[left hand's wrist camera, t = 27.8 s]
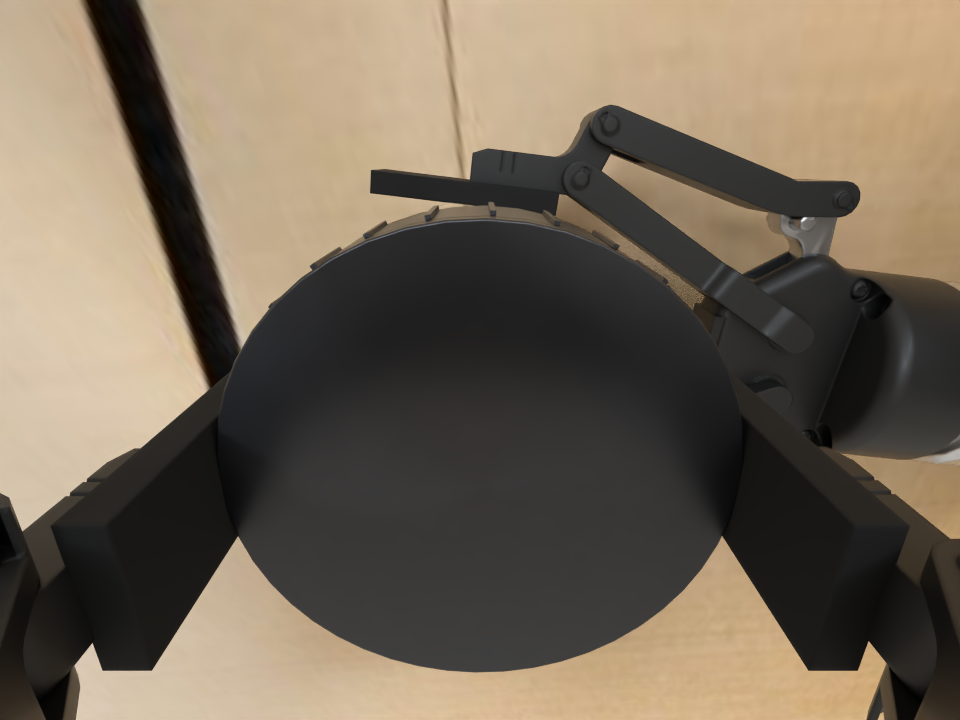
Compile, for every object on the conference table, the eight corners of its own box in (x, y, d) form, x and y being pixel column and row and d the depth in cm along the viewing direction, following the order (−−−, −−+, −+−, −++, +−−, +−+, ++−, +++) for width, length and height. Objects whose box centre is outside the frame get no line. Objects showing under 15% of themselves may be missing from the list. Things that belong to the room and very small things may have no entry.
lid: (634, 612, 15) (663, 697, 12) (261, 568, 14) (218, 649, 12) (760, 244, 11) (835, 266, 9) (262, 164, 10) (200, 166, 8)
